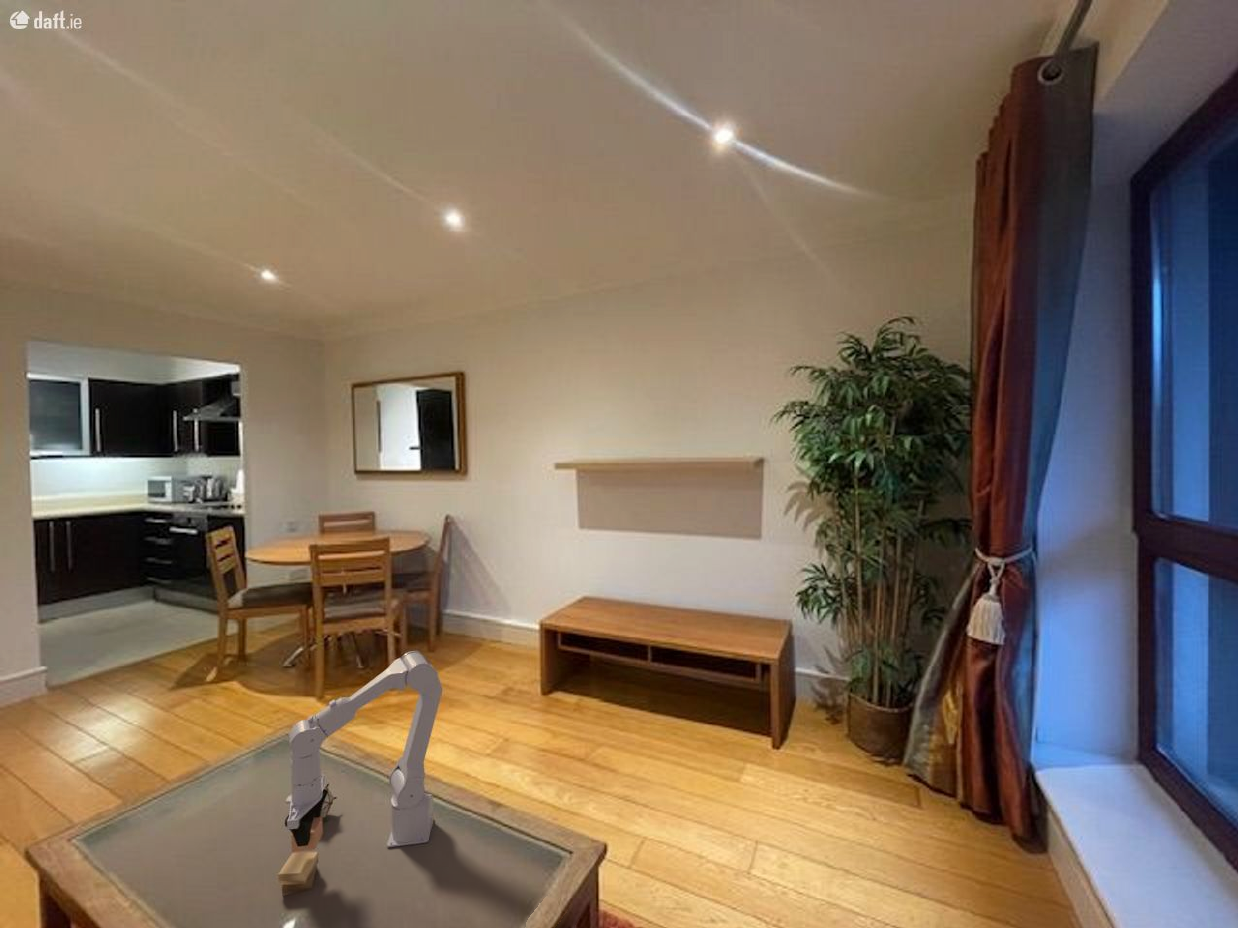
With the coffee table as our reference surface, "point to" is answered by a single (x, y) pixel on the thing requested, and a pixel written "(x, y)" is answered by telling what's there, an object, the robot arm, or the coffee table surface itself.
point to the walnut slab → (299, 885)
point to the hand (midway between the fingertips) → (308, 835)
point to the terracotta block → (314, 837)
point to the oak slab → (298, 868)
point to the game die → (327, 803)
